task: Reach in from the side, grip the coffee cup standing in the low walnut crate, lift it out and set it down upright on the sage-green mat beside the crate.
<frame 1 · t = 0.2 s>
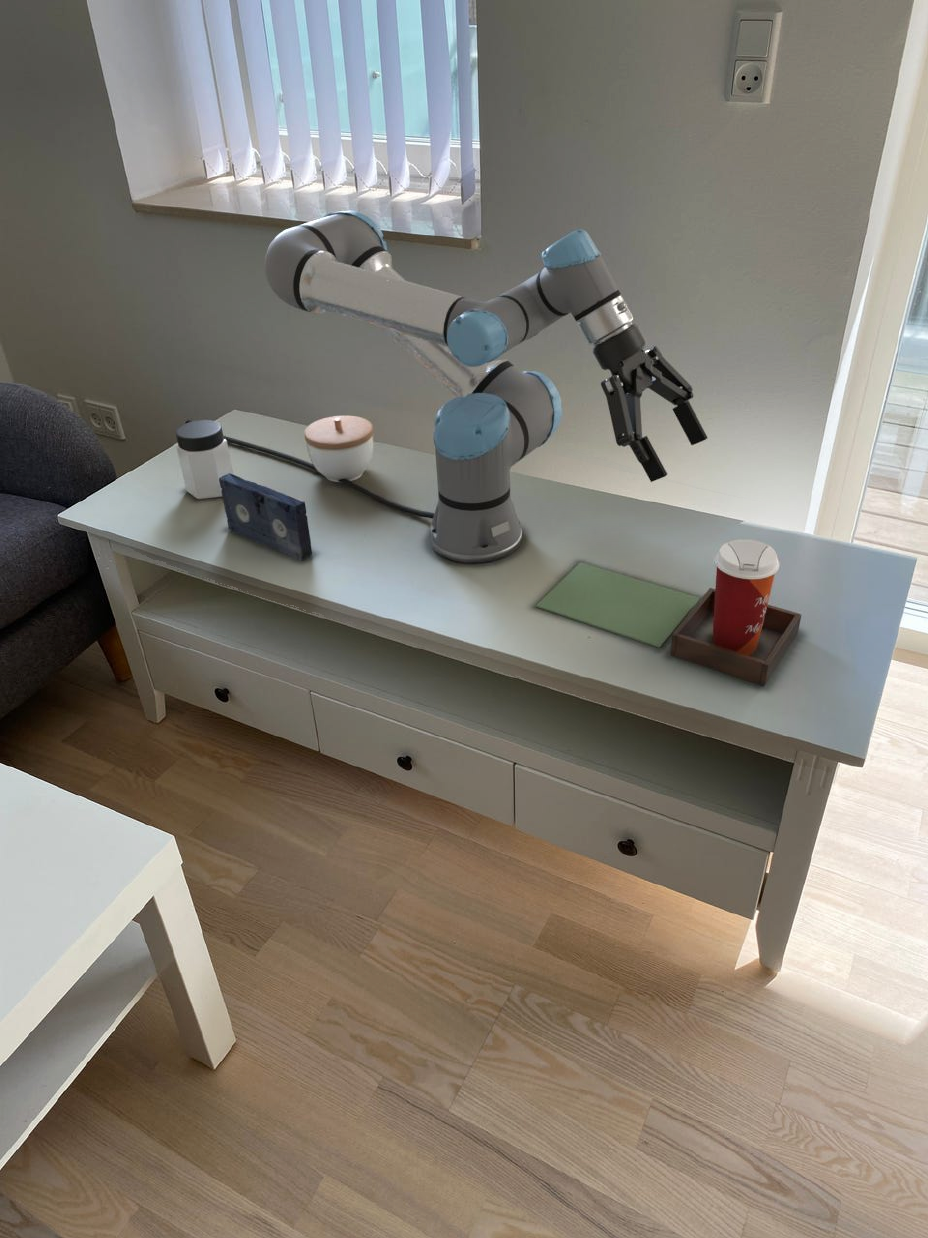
hand: (680, 459, 148), 16 cm above the table, tool tilted 35°, fingers open, 13 cm apart
crate: (734, 644, 136), on the table
coffee cup: (734, 645, 136), resting in crate
jar: (211, 489, 181), on the table
mat: (617, 603, 145), on the table
vhs cassette tape: (270, 543, 164), on the table
lidded bowl: (344, 474, 184), on the table
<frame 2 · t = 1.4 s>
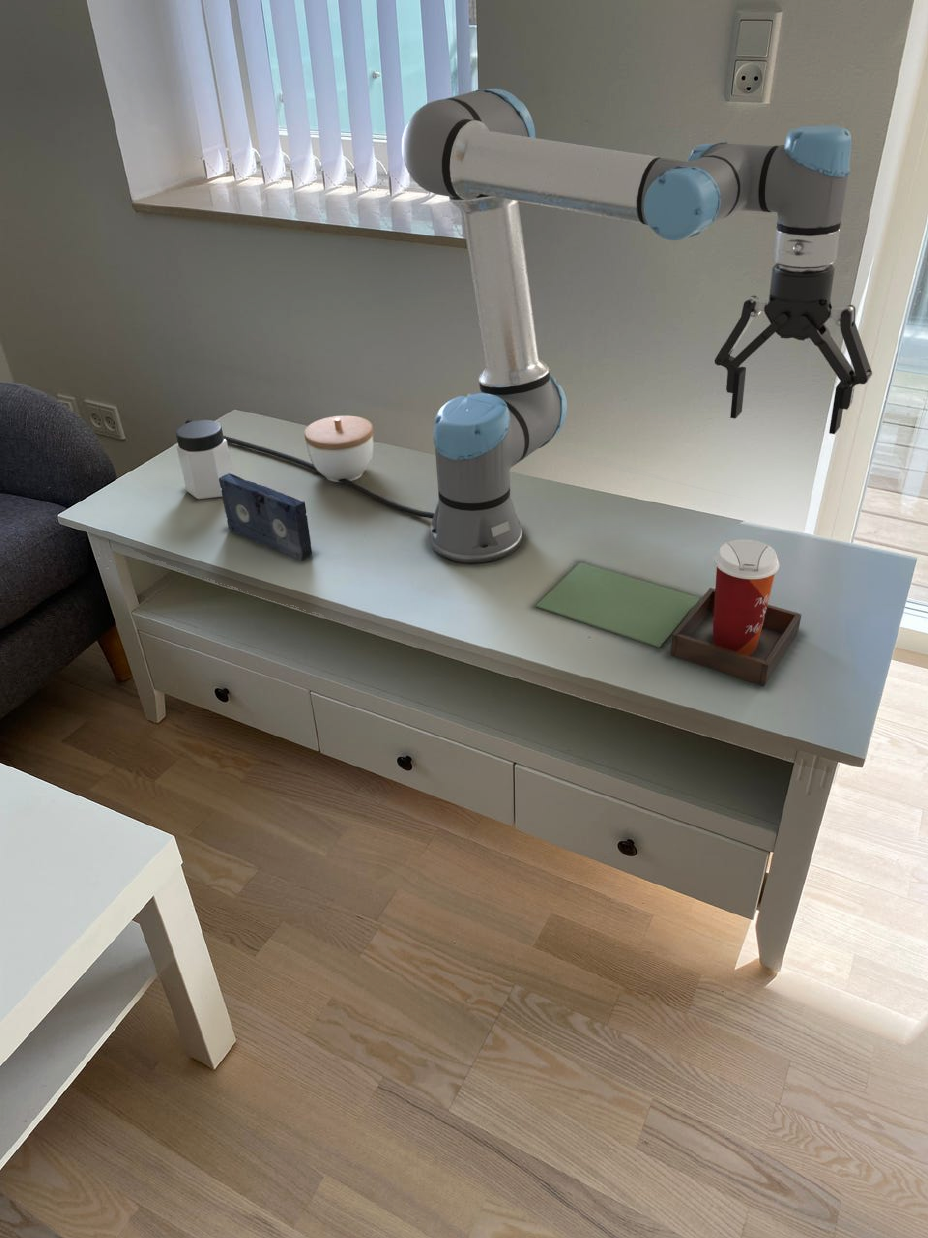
hand: (784, 422, 135), 26 cm above the table, tool pointing down, fingers open, 13 cm apart
nothing on the table moved.
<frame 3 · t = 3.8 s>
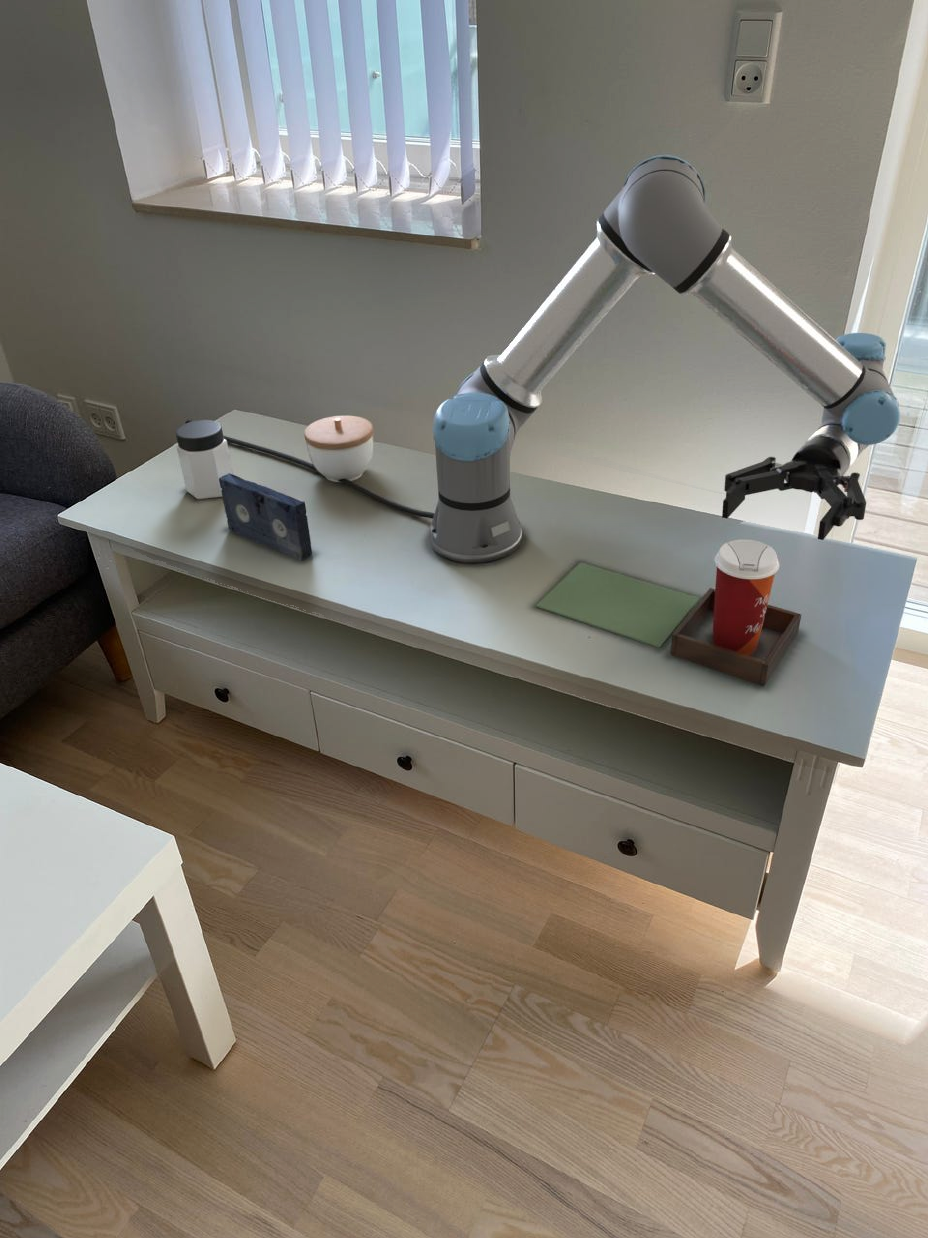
hand: (771, 520, 134), 15 cm above the table, tool horizontal, fingers open, 13 cm apart
nothing on the table moved.
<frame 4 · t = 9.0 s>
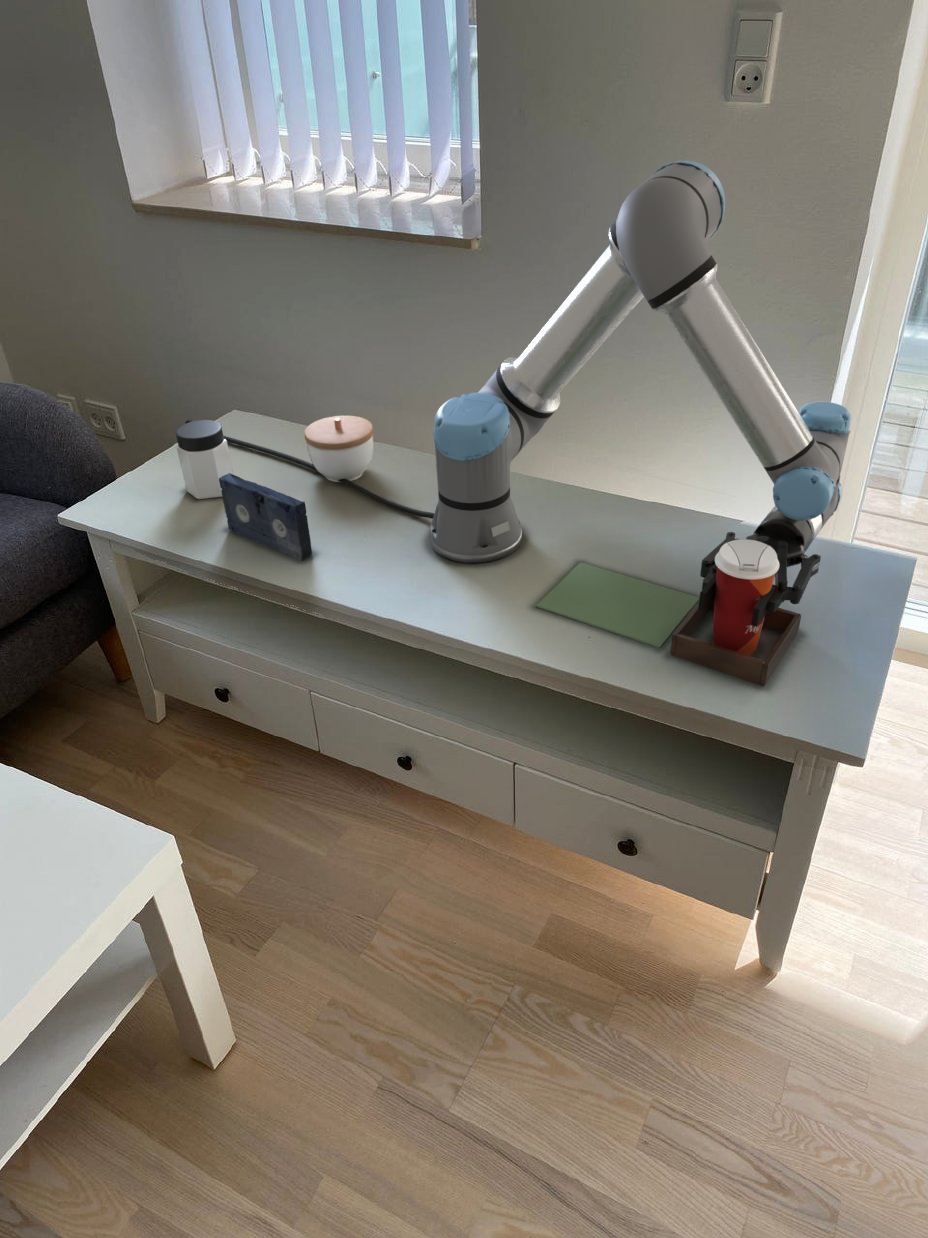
hand: (728, 609, 127), 9 cm above the table, tool horizontal, fingers closed on coffee cup, 6 cm apart
coffee cup: (734, 645, 136), resting in crate, touching gripper
everything else where it was.
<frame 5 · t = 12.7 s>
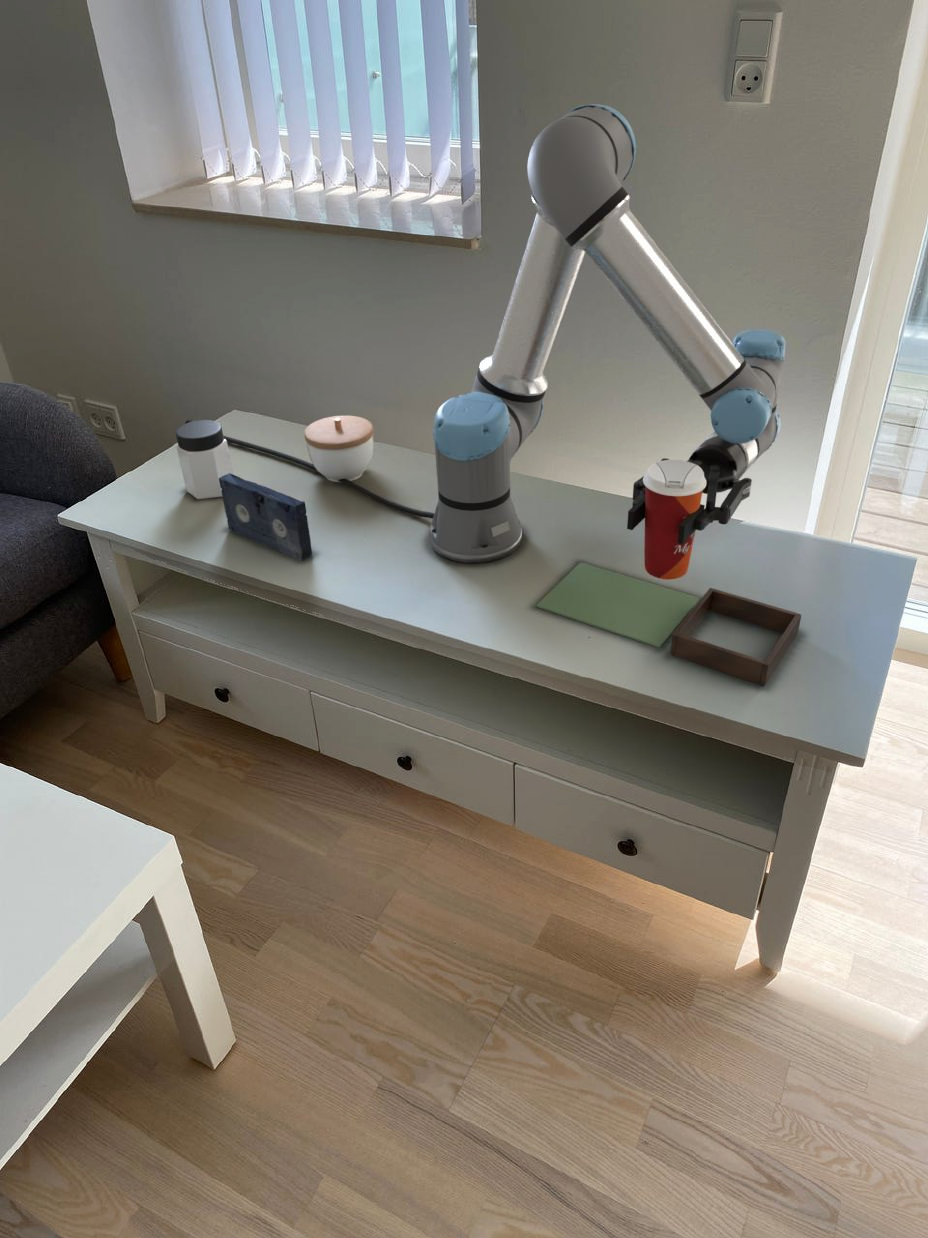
hand: (655, 527, 128), 18 cm above the table, tool horizontal, fingers closed on coffee cup, 6 cm apart
coffee cup: (665, 568, 137), point 9 cm above the table, touching gripper
everything else where it was.
when the fingers open (9 cm above the table, at t = 16.4 s): coffee cup stays where it is, resting on mat.
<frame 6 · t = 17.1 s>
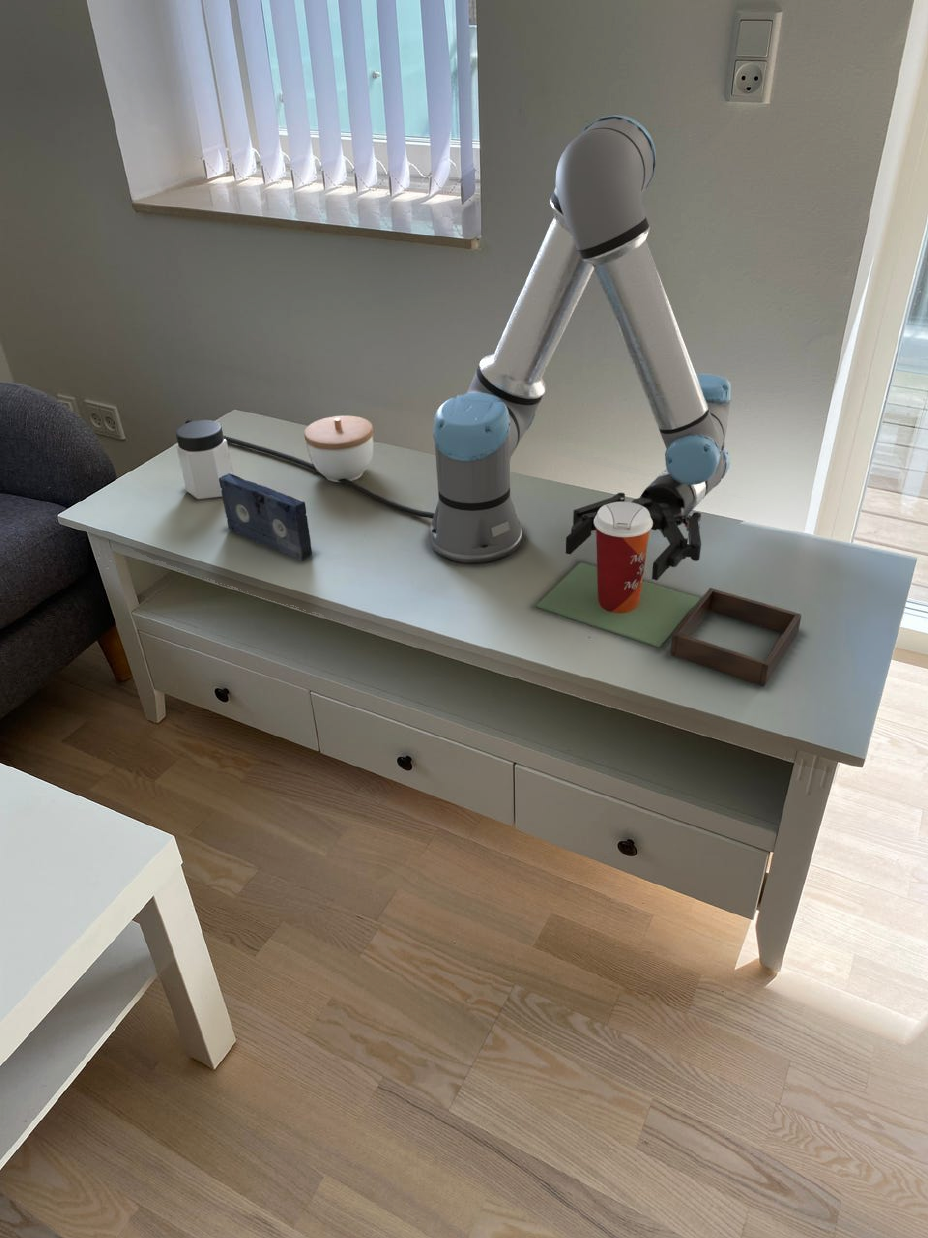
hand: (610, 558, 138), 10 cm above the table, tool horizontal, fingers open, 13 cm apart
coffee cup: (618, 602, 145), resting on mat
everything else where it was.
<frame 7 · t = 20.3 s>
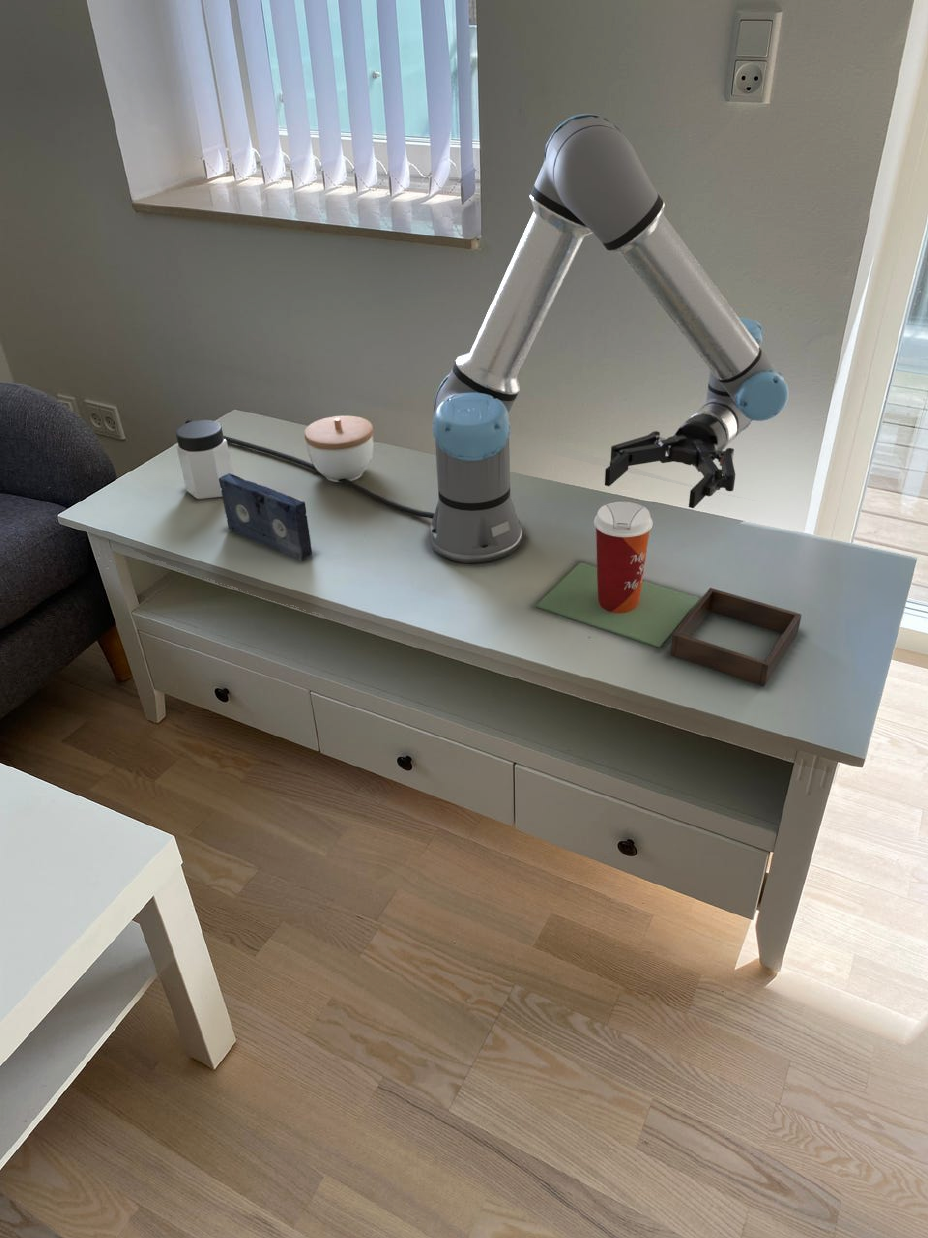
hand: (648, 488, 144), 14 cm above the table, tool horizontal, fingers open, 13 cm apart
nothing on the table moved.
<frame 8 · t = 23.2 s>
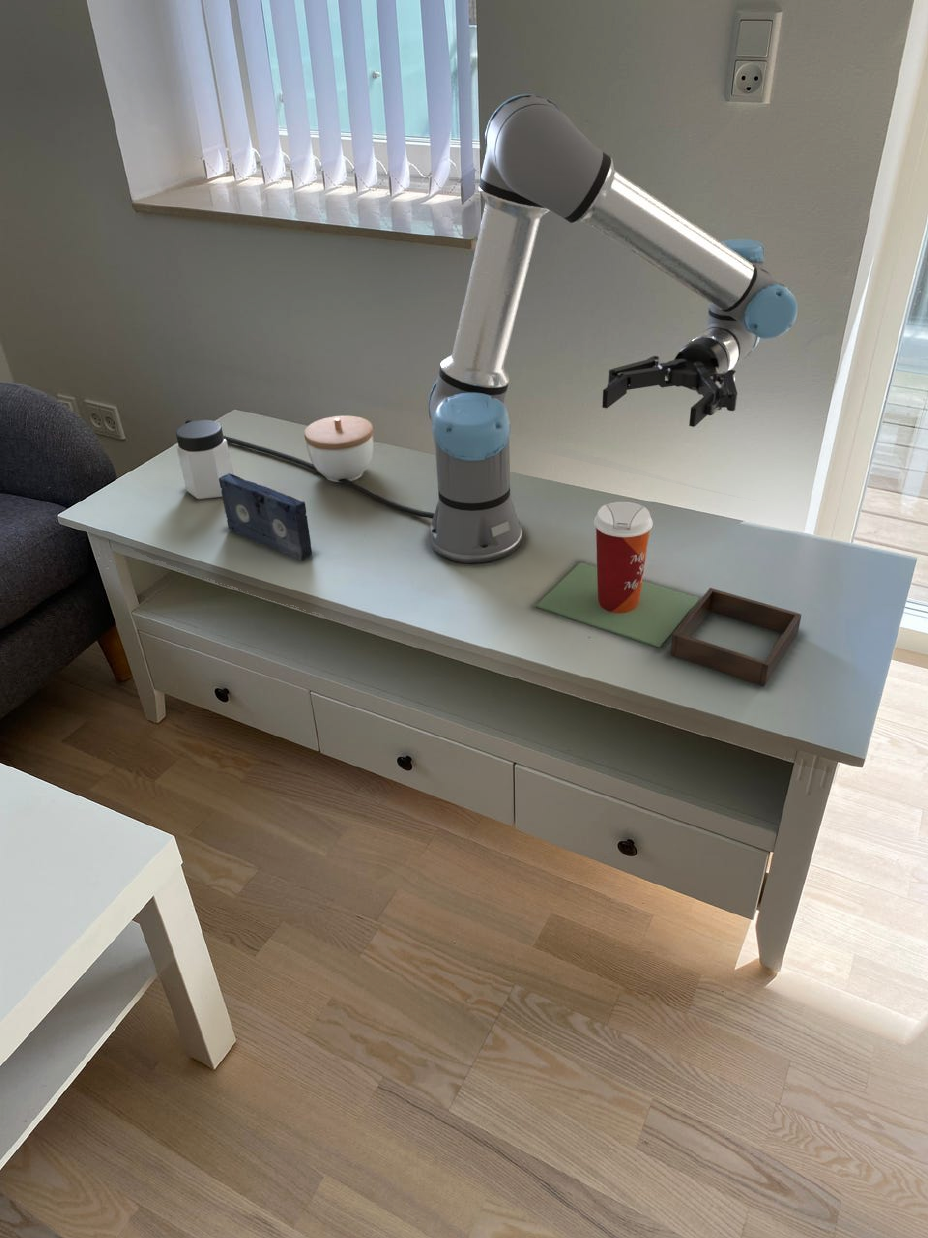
hand: (647, 408, 139), 26 cm above the table, tool horizontal, fingers open, 13 cm apart
nothing on the table moved.
at the end: coffee cup inside the target area on the mat (0.1 cm from its centre), point 0.1 cm above the mat's base; coffee cup tilted 0°; the gripper is holding nothing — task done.
